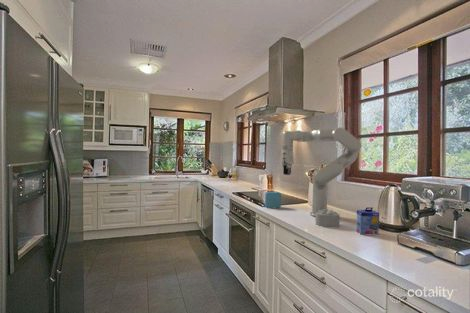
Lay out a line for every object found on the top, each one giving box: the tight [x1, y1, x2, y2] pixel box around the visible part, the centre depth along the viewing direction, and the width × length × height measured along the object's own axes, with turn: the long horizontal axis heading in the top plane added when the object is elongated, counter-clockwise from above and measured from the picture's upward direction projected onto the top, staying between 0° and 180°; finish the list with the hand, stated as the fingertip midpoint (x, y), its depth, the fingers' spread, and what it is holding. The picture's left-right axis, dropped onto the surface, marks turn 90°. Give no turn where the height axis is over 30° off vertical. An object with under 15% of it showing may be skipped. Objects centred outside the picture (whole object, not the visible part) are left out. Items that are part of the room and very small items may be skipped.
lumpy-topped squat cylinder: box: [315, 209, 341, 228], centre depth 144 cm, size 10×13×9 cm
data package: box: [264, 191, 282, 209], centre depth 189 cm, size 12×4×12 cm, turn 94°
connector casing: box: [283, 165, 291, 176], centre depth 172 cm, size 4×4×7 cm
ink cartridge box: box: [355, 206, 380, 235], centre depth 129 cm, size 10×6×14 cm, turn 91°
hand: (287, 173), depth 172 cm, fingers closed on connector casing, 4 cm apart
